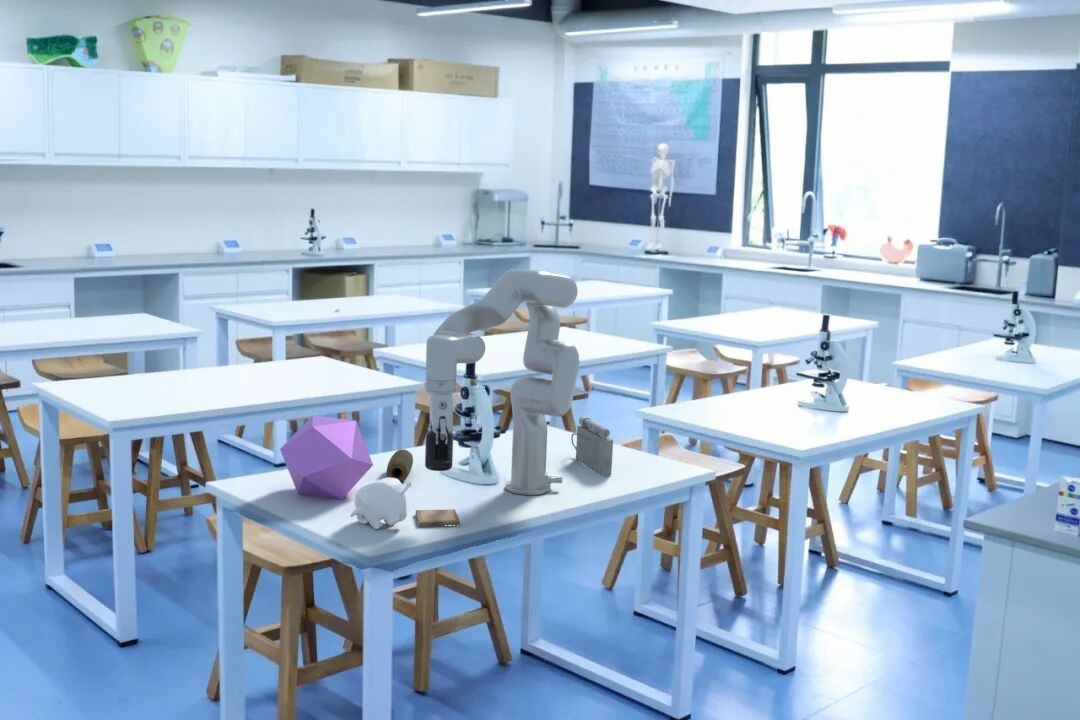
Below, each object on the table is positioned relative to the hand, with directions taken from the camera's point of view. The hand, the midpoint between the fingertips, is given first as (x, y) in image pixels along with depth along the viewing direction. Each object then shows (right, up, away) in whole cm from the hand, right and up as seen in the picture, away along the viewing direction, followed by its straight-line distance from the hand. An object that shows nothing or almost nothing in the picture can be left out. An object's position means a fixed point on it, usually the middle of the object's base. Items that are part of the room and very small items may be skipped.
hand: (439, 455), depth 285 cm
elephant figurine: (-14, -17, -3) cm, 22 cm away
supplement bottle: (0, -3, +1) cm, 3 cm away
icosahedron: (-32, -12, +23) cm, 41 cm away
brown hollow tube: (-15, -10, +42) cm, 45 cm away
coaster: (-1, -17, +3) cm, 17 cm away
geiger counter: (+40, -8, +61) cm, 73 cm away
